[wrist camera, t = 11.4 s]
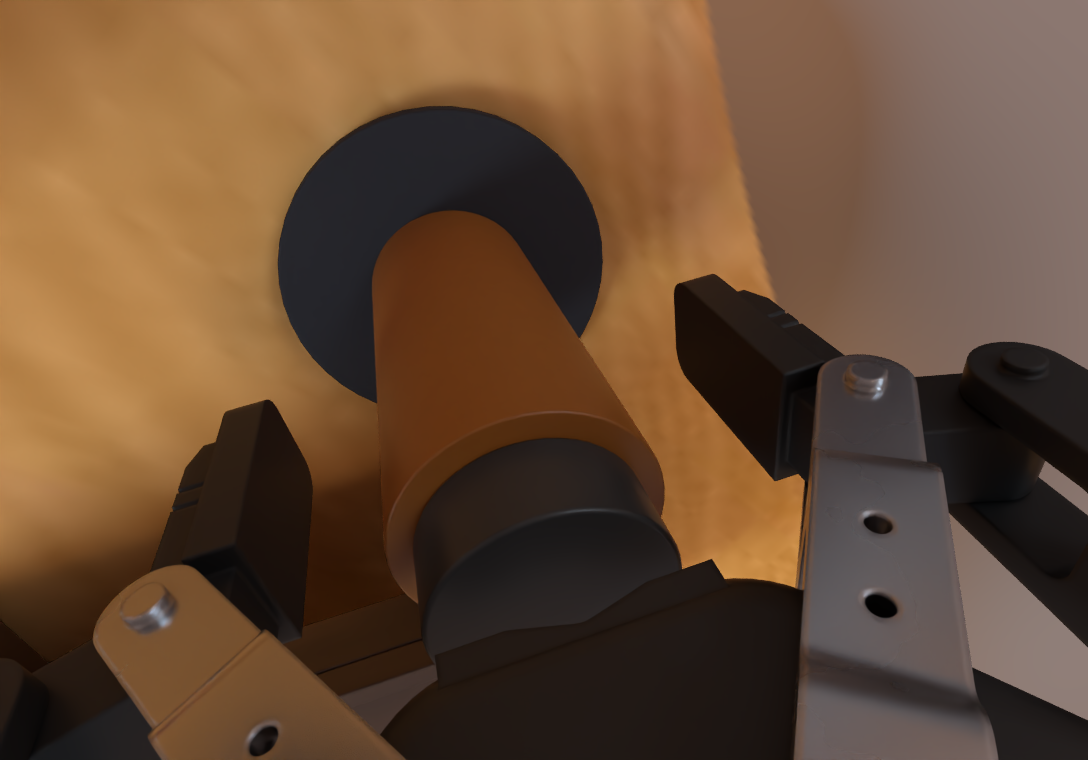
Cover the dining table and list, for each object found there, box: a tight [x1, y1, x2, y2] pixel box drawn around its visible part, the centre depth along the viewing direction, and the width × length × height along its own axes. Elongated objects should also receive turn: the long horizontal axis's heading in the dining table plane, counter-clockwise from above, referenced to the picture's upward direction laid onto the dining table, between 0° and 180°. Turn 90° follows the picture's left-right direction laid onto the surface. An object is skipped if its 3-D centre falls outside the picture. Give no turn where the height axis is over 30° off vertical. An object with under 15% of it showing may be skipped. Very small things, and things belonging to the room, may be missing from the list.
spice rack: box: [0, 594, 438, 734], centre depth 20 cm, size 11×22×8 cm, turn 100°
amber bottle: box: [372, 210, 682, 665], centre depth 12 cm, size 4×4×11 cm
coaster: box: [278, 106, 603, 403], centre depth 17 cm, size 9×9×1 cm
